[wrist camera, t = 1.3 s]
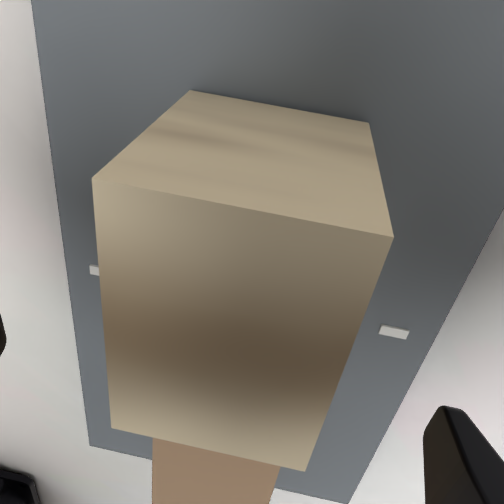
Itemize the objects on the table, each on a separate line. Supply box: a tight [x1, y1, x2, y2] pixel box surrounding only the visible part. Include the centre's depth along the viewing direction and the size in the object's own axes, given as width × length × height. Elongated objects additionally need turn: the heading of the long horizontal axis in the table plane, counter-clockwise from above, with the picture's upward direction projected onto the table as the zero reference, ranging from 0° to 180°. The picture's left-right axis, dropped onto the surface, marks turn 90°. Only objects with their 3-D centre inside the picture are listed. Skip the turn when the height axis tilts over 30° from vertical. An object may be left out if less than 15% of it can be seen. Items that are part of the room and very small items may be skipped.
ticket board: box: [31, 0, 504, 504], centre depth 16 cm, size 24×14×4 cm, turn 172°
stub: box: [92, 90, 394, 472], centre depth 12 cm, size 7×5×6 cm
